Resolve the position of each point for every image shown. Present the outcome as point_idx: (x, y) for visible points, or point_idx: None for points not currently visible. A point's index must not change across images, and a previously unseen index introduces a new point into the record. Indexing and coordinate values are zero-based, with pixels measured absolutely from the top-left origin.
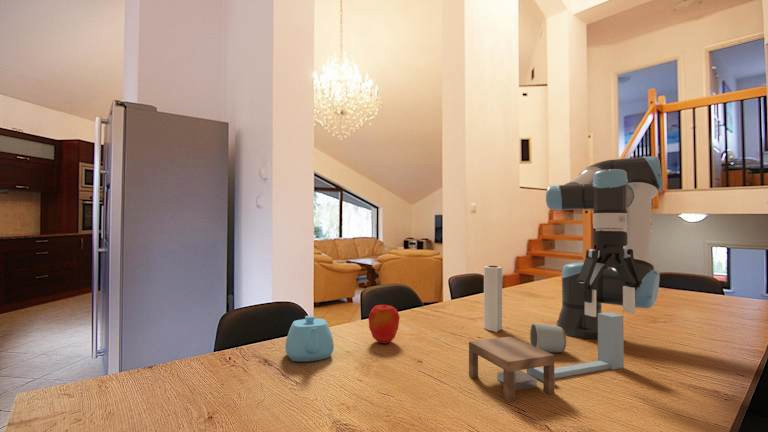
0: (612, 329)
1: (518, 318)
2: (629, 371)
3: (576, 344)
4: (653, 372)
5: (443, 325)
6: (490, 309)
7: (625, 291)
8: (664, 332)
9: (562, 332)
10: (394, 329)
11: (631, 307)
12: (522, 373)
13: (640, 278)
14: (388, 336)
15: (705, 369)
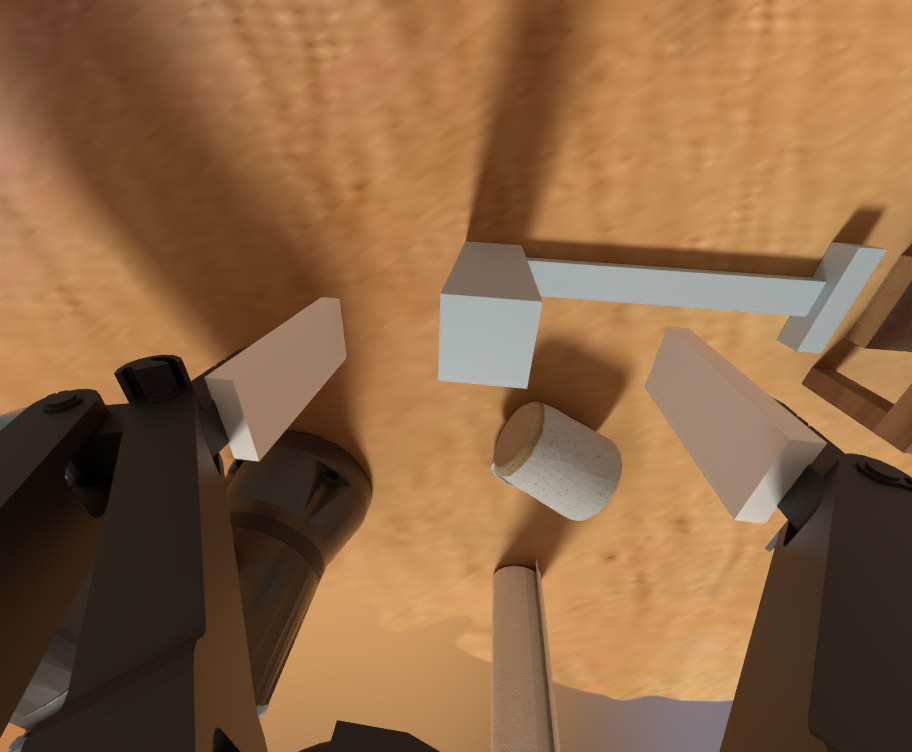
0: (532, 280)
1: (380, 595)
2: (481, 208)
3: (412, 430)
4: (409, 162)
5: (606, 629)
6: (546, 637)
7: (277, 415)
8: (48, 389)
9: (541, 441)
10: None
11: (325, 320)
12: (901, 316)
13: (9, 431)
14: None
15: (187, 92)
